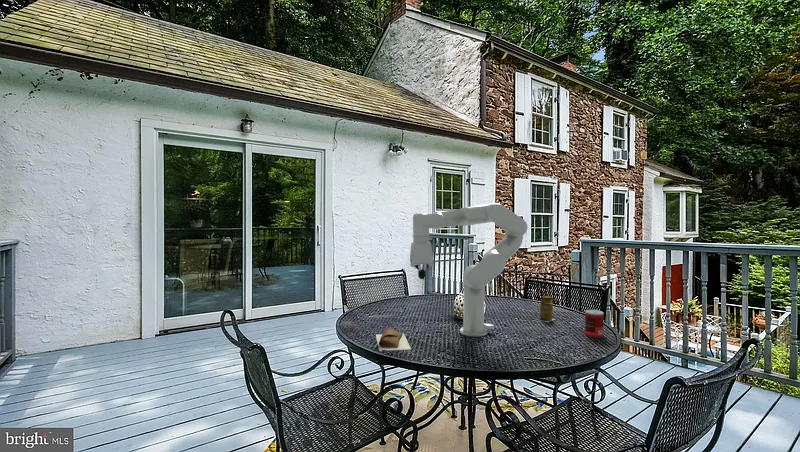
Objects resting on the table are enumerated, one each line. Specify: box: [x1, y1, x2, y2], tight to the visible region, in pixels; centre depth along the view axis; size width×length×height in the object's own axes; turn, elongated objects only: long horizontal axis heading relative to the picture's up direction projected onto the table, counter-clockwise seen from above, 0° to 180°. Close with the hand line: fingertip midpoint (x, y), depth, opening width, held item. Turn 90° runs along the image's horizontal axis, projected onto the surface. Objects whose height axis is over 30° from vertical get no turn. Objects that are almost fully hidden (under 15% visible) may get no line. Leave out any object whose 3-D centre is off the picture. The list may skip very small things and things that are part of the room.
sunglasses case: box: [379, 326, 404, 348], centre depth 172 cm, size 18×7×7 cm
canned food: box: [584, 309, 605, 339], centre depth 181 cm, size 8×8×11 cm
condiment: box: [535, 295, 556, 323], centre depth 208 cm, size 7×8×12 cm
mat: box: [375, 333, 412, 352], centre depth 171 cm, size 13×21×1 cm, turn 8°
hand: (421, 278), depth 186 cm, fingers closed
